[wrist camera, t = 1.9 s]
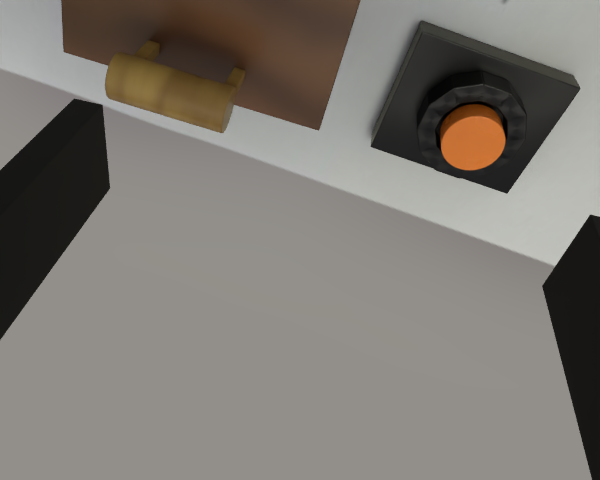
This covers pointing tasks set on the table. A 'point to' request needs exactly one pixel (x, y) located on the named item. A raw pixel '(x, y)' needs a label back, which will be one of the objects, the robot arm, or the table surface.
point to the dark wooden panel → (214, 54)
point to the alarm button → (472, 137)
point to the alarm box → (470, 102)
